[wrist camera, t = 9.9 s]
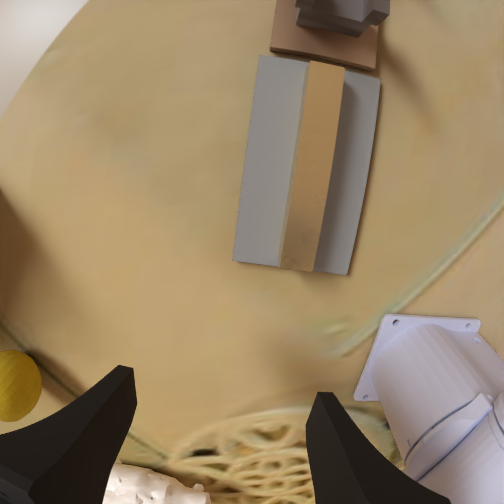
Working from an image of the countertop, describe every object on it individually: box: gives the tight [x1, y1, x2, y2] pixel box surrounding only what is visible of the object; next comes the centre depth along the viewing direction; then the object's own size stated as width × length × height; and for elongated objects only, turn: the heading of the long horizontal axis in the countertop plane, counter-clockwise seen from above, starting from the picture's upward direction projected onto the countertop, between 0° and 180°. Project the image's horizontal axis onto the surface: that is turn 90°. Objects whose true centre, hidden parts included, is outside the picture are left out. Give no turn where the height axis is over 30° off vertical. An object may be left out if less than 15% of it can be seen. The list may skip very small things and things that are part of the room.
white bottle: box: [102, 463, 212, 504], centre depth 24 cm, size 8×19×8 cm, turn 94°
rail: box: [278, 60, 345, 272], centre depth 16 cm, size 2×11×2 cm, turn 172°
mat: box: [232, 55, 381, 275], centre depth 18 cm, size 7×12×1 cm, turn 172°
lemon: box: [0, 350, 42, 422], centre depth 19 cm, size 6×6×8 cm
